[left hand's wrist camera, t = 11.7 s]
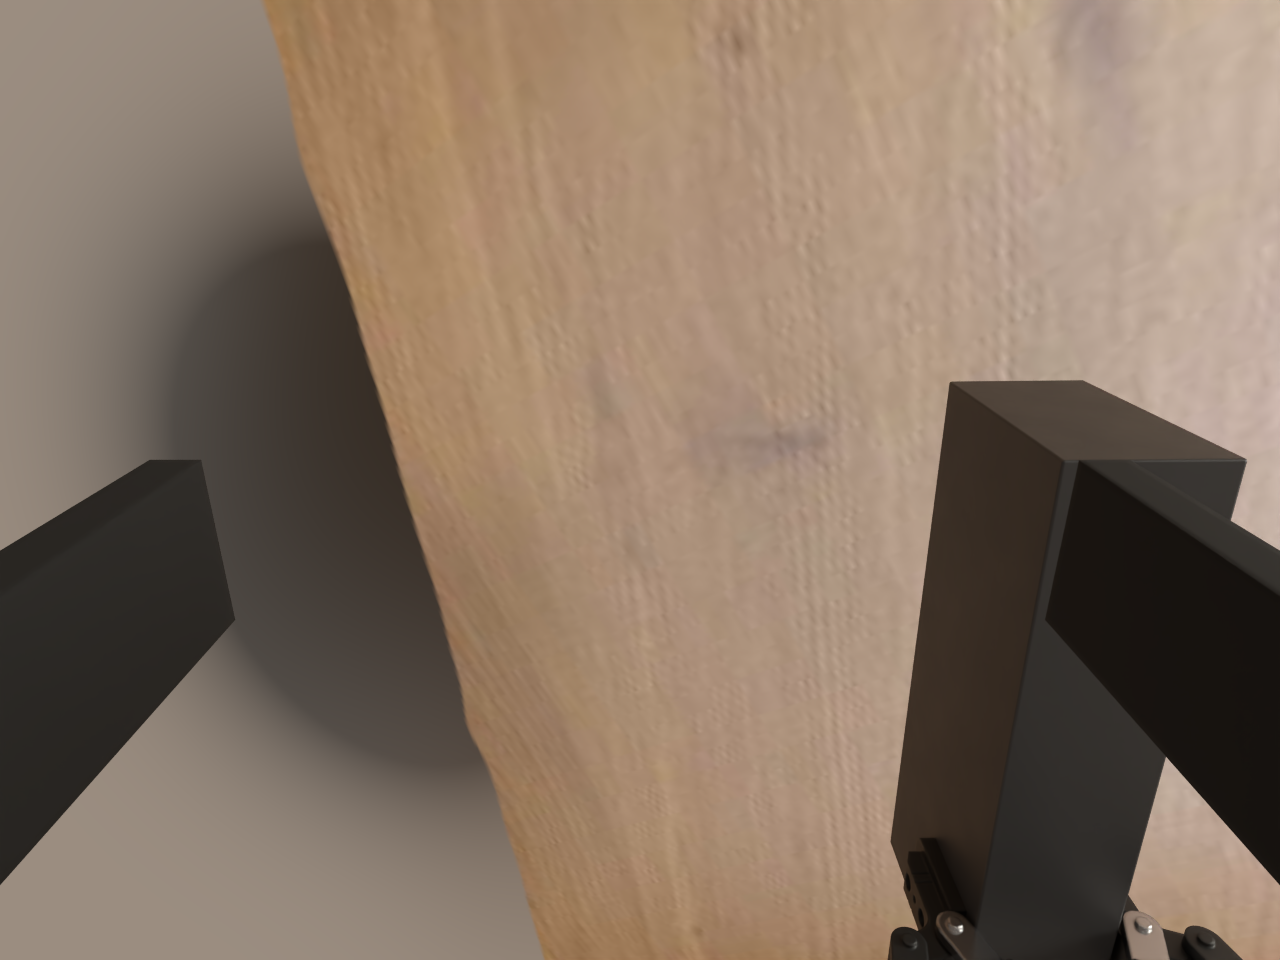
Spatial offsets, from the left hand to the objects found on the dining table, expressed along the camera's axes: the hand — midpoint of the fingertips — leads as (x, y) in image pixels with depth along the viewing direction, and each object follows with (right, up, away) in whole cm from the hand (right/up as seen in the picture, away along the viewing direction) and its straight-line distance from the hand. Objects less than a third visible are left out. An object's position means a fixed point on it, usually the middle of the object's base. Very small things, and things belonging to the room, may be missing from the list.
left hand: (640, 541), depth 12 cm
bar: (+14, -6, +22) cm, 27 cm away
